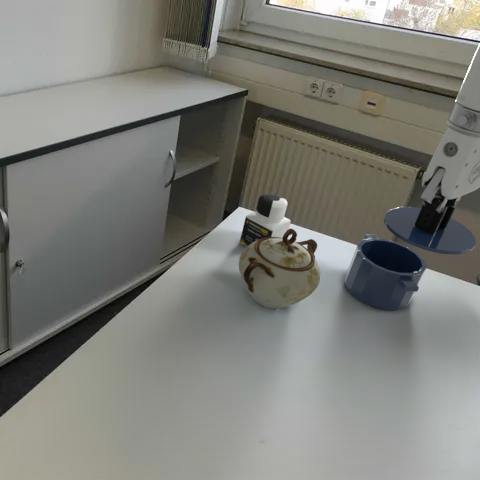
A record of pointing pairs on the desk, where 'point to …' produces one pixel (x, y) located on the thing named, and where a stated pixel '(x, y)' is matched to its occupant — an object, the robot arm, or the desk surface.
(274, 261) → the sugar bowl
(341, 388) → the desk surface
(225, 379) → the desk surface
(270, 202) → the medicine bottle
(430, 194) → the robot arm
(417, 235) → the lid
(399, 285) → the pot
